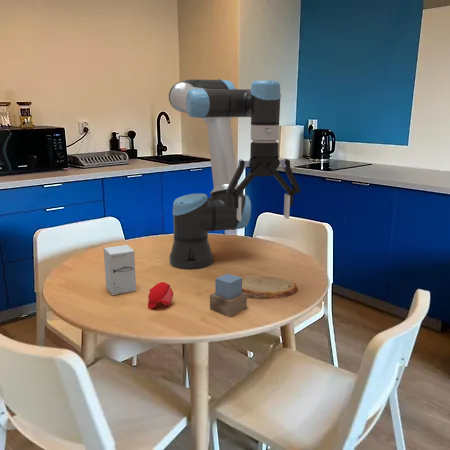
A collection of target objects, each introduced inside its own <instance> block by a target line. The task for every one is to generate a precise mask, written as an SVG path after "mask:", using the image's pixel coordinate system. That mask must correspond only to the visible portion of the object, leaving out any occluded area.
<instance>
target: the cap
mask: <svg viewBox="0 0 450 450" xmlns="http://www.w3.org/2000/svg"><path fill="white" fill-rule="evenodd" d="M173 297H174V291H173V289H172V288H171V285H170V284H168V283H167V282H164V281H161V282H158V283H156V284H155V285H154V286H152V288H149V293H148V298H147V299H148V302H147V308H148V309H149V310H152V309H154V308H155V307H156V306H157V304H158V303H162V304H163V305H166V307H169V306H170V305H171V302H172V300H173Z"/></svg>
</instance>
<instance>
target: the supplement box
mask: <svg viewBox="0 0 450 450" xmlns="http://www.w3.org/2000/svg"><path fill="white" fill-rule="evenodd" d="M103 258H104V259H103V260H104V261H103V262H104V271H105V273H104V276H105V286H106V287H105V288H106V289H107V290H108V292H109V294H110V295H111V296H115V295H119V294H126V293H133V292H136V291H137V281H136V280H137V279H136V278H137V277H136V276H137V275H136V261H135V260H136V258H135V250H134V249H133V248H132V247H130V246H129V245H128V244H124V245H118V246H117V245H115V246H109V247H104V248H103Z"/></svg>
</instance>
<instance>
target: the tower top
mask: <svg viewBox="0 0 450 450" xmlns="http://www.w3.org/2000/svg"><path fill="white" fill-rule="evenodd" d="M214 279H215V280H214V281H215V282H214V286H215V288H214V289H215V291H214V293H215V295H218V296H221V297H224V298H227V299H232V298H234V297H236V296H238V295H240V294H242V278H241V277H238V275H235V274H231V273H225V274H223V275H221V276H219V277H216V278H214Z"/></svg>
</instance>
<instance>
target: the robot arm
mask: <svg viewBox="0 0 450 450" xmlns="http://www.w3.org/2000/svg"><path fill="white" fill-rule="evenodd" d="M281 98H282V94H281V83H280V82H279V81H278V80H267V79H266V80H265V79H264V80H253V81H252V83H251V88H246V89H244V88H243V89H240V88H239V89H238V88H237V89H236V86H235V84H234V83H233V82H232V81H231V80H228V79H227V80H226V79H221V78H219V79H196V78H195V79H194V78H193V79H192V78H191V79H190V78H189V79H185V80H181V81H179V82H177V83H175V84H174V85H172V87H171V88H170V89H169V92H168V102H169V104H170V106H171V107H172V108H173V109H174V110H175V111H178V112H180V113H185V114H187V115H188V116H189V117H190V118H197V119H201V121H203V122H204V123H206V128H207V129H206V130H207V138H208V146H209V155H210V165H211V173H212V181H213V189H212V190H211V191H210V193H209V194H210V195H209V196H210V197H209V196H208V195H207V194H205V193H202V192H201V193H189V194H185V195H182V196H179V197H177V198H175V199H174V201H173V202H172V203H173V204H172V218H173V219H172V220H173V243H172V246H171V247H172V248H171V251H170V254H169V264H170V265H171V266H172V267H175V268H179V269H187V270H188V269H189V270H190V269H192V270H193V269H195V270H196V269H200V268H201V269H202V268H205V267H208V266H210V265H212V264H213V262H214V254H213V252H212V249H211V245H210V243H209V239H208V238H209V236H208V235H209V232H219V231H220V232H221V231H230V230H231V231H235V230H241V229H244V228H246V227H247V226H248V224H249V222H250V219H251V214H252V203H251V199H250V196H248V195H246V194H244V190H245V189H246V188H247V187H248V186H249V184H250V183H251V182H252V180H253V179H255V178H256V177H261V178H262V177H271V176H273V177H274V178H275V179H276V180H277V182H278V183H279V184H280V186H281V187H282V188H283V189H284V190H285V191H286V193H284V203H283V217H284V218H285V219H287V220H288V219H290V210H291V209H290V208H291V207H293V205H294V196H295V195H296V194H299V193H300V192H301V188H300V186H299V184H298V181H297V179H296V177H295V175H294V172H293V170H292V168H291V161H290V159H288V158H285V157H284V159H280V157H279V151H280V150H279V149H280V147H279V146H280V143H279V142H278V141H279V140H280V116H281V115H280V114H281ZM233 118H250V141H251V143H250V150H249V151H250V157H249V160H244V159H239V160H238V162H237V166H236V157H235V150H234V149H235V147H234V140H233V138H234V137H233V131H232V123H231V121H232V119H233ZM248 166H249V167H250V171H249V172H248V173H247V175H245V177H244V178H243V180H242V181H241V182H240V183H238V182H239V181H240V178H241V176H242V175H243V172H244V171H245V170H244V169H247V168H248ZM279 166H281V167H282V168H283V169H284V172H285V174H286V176H287V178H288V180H289V183H290V185H291V187H292V188H291V187H290V185H289V184H288V182H286V180H285V179H284V178H283V177H282V176H281V174H280V172H279V171H278V170H277V169H279Z"/></svg>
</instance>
